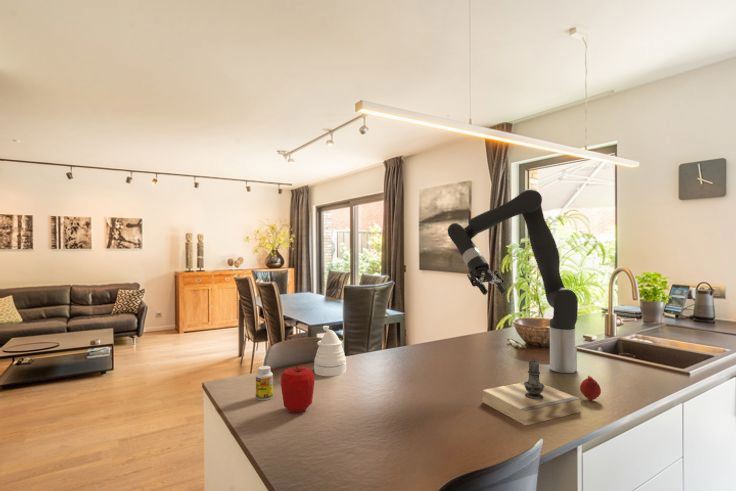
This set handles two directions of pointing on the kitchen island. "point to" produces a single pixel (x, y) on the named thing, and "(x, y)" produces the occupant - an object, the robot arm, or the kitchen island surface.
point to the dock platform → (531, 403)
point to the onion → (590, 388)
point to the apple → (297, 388)
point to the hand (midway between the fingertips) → (495, 292)
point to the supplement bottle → (264, 383)
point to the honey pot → (329, 355)
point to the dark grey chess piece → (534, 381)
